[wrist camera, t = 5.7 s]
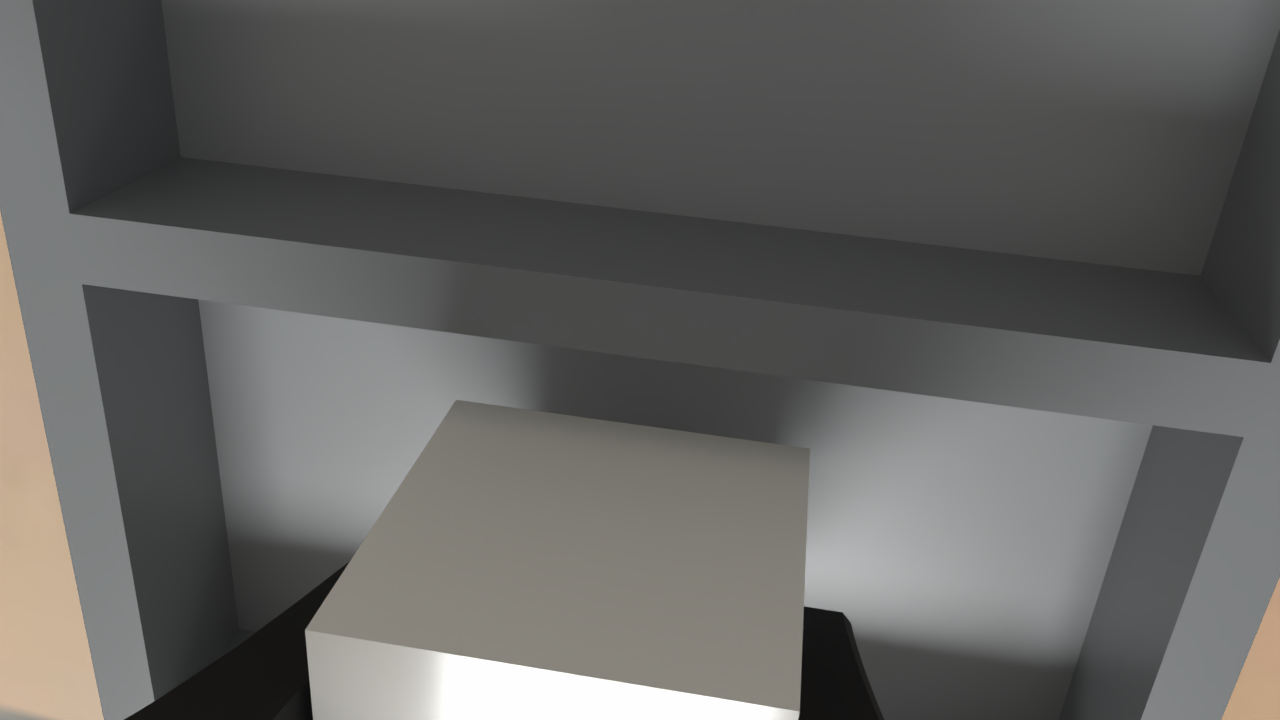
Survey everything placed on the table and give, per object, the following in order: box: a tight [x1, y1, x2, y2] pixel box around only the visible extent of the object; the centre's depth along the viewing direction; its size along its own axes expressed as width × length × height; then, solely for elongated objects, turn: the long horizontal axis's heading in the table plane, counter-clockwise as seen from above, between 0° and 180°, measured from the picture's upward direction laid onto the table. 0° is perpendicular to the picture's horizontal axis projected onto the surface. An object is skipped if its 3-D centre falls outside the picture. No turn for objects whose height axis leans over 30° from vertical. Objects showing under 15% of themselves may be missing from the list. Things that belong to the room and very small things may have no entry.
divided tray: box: [0, 0, 1280, 720], centre depth 12 cm, size 14×16×3 cm
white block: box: [305, 400, 810, 720], centre depth 11 cm, size 4×4×4 cm
